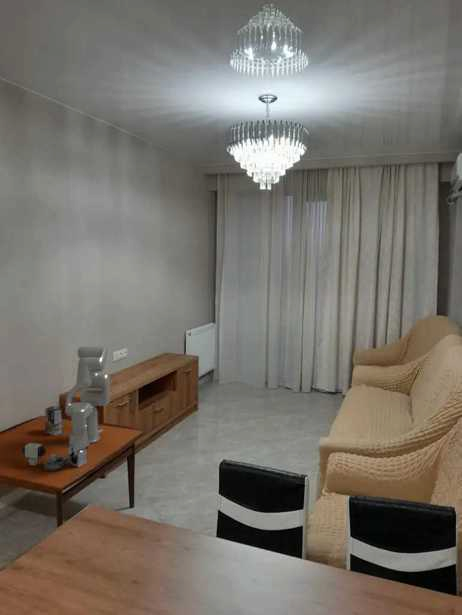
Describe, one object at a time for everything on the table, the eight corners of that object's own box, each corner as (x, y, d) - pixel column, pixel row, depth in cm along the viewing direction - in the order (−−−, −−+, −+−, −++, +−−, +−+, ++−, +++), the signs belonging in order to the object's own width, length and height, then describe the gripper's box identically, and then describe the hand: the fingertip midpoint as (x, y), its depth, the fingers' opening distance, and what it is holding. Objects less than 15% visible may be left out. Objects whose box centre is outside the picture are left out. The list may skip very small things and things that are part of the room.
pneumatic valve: (41, 467, 251) (40, 446, 250) (21, 464, 253) (21, 443, 252) (47, 463, 256) (47, 442, 255) (28, 460, 259) (27, 439, 257)
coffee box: (62, 432, 299) (62, 408, 297) (54, 436, 293) (54, 411, 291) (53, 429, 303) (53, 405, 301) (45, 432, 298) (45, 408, 296)
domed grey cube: (78, 460, 261) (78, 446, 260) (86, 462, 258) (86, 449, 257) (70, 464, 256) (70, 450, 255) (78, 467, 253) (78, 453, 252)
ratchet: (73, 453, 269) (73, 442, 269) (84, 457, 265) (84, 445, 264) (41, 468, 250) (41, 456, 249) (52, 473, 246) (52, 460, 245)
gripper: (85, 423, 264) (85, 453, 266) (61, 433, 249) (61, 465, 251) (95, 426, 260) (95, 456, 263) (71, 436, 245) (71, 469, 248)
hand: (78, 460), depth 257 cm, fingers closed on domed grey cube, 6 cm apart
